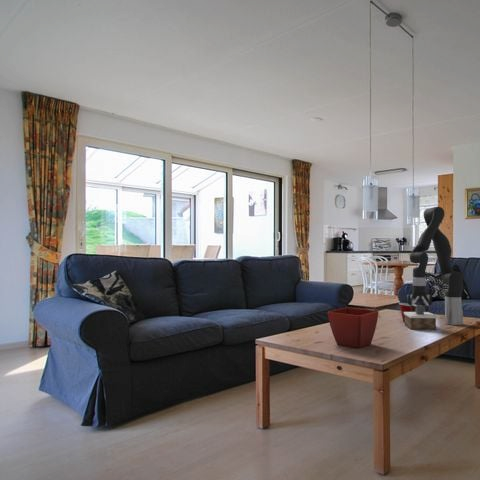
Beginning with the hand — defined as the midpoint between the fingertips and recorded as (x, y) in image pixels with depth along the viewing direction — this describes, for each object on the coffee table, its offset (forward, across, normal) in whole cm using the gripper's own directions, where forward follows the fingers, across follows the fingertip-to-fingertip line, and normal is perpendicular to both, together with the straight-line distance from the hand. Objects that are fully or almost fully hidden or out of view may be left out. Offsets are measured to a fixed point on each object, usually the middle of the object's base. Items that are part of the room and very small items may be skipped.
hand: (419, 311), depth 252 cm
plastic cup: (+10, +2, -18) cm, 21 cm away
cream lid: (+2, 0, 0) cm, 2 cm away
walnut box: (+9, 0, 0) cm, 9 cm away
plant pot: (+10, +46, +47) cm, 66 cm away
